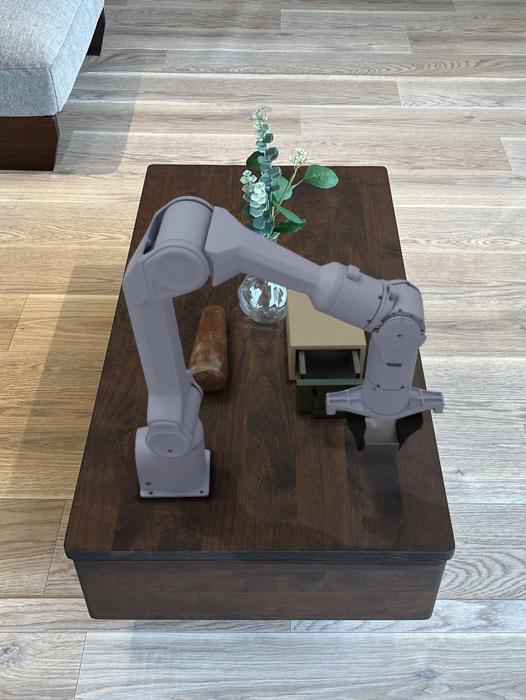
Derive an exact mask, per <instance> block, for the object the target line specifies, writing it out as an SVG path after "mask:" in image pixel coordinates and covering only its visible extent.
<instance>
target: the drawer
mask: <svg viewBox="0 0 526 700" xmlns="http://www.w3.org/2000/svg"><path fill="white" fill-rule="evenodd" d="M296 355H297V369H298V380H295V407H294V409H295V412H312V419H313V420H346V415H345V411H336V413H335V414H334V415H327V411H326V395H327V393H335V392H340V391H344V390H347V389H351V388H354V387H358V386H361V385H364V380H365V378H362V379H360V374H361V372H360V365H359V359H358V352H357V349H296Z"/></svg>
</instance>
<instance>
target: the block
mask: <svg viewBox="0 0 526 700" xmlns="http://www.w3.org/2000/svg"><path fill="white" fill-rule="evenodd" d="M365 420H366V427H367V429H366V431H365V434H364V438H363V449H362V451H359V453H360V460H361V466H385V465H387V466H388V465H389V466H390V465H396V461H397V456H398V452H399V451H398V446H399V440H398V435H397V429H396V419H395V420H380V419H376V418H372V417H365Z"/></svg>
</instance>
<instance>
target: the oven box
mask: <svg viewBox="0 0 526 700" xmlns="http://www.w3.org/2000/svg"><path fill="white" fill-rule="evenodd" d="M285 312H286V314H285V328H286V329H285V330H286V344H287V360H288V361H287V363H288V379H289V381H296V380H298V369H297V355H296V349H357V352H358V359H359V365H360V372H361V374H360V379H363V374H364V367H365V366H364V365H365V360H366V351H367V340H366V334H365V330H363V329H360V328H358V327H355V326H353V325H351V324H348V323H346V322H343V321H341V320H339V319H336V318H334V317H331V316H329V315H327V314H324V313H322V312H320V311H317V310H315V309H314V307H313V305H312V302H311V300H310V298H309V297H308V295H306V294H303V293H300V292H297V291H294V290H291V289H288V288H286V311H285Z"/></svg>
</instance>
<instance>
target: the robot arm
mask: <svg viewBox="0 0 526 700" xmlns="http://www.w3.org/2000/svg"><path fill="white" fill-rule="evenodd" d="M239 274H245V275H247V276H250V277H253V278H255V279H259V280H261V281H262V280H263V281H264V282H268V283H270V284H274V285H276V286H279V287H282V288H285V289H291V290H294V291H297V292H300V293H303V294H306V295H308V297H309V298H310V300H311V302H312V305H313V307H314V309H315V310H317V311H320V312H322V313H324V314H327V315H329V316H331V317H334V318H336V319H339V320H341V321H343V322H346V323H348V324H351V325H353V326H355V327H358V328H360V329H363V330H364V332H367V333H370V334H371V338H370V340H369V344H368V351H367V358H366V367H365V374H364V379H365V380H364V385H361V386H358V387H354V388H351V389H347V390H344V391H340V392H335V393H327V395H326V411H327V415H334V414H335V413H336V411H345V415H346V419H345V423H346V426H347V429H348V430H349V431H350V432H351V434H352V436H353V438H354V440H355V449H356V451H357V452H360V451H362V449H363V438H364V434H365V431H366V429H367V427H366V420H365V418H376V419H380V420H395V423H396V429H397V435H398V440H399V446H398V452H399V451H400V450H401V449H402V448H403V446H404V445H405V443H406V441H407V440H408V439H409V438H410V437H411V435H413V434H414V433H415V432H417V431H419V430H421V429H422V428H423V425H424V416H423V412H424V411H429V410H431V411H432V412H433V413H434V414H443V412H444V407H445V404H446V403H445V399H444V395H443V391H435V390H434V391H433V390H428V389H423V388H419V387H415V386H412V385H413V380H414V376H415V370H416V365H417V360H418V354H419V348H421V347H422V346H423V345H424V343H425V342H426V340H427V337H428V336H427V335H426V319H425V309H424V299H423V295H422V293H421V290H420V288H418V287H417V286H416V285H414V284H413V283H411V282H410V281H409V280H407V279H391V280H385V279H382V278H381V279H376V278H375V277H372V276H370V275H367V274H366V273H363V272H361V271H360V268H359V267H358V266H355V265H352V264H349V265H348V266H347V265H345V264H342V263H340V262H338V261H331V262H329V263H325V264H324V265H319V264H317V263H315V262H313V261H311V260H309V259H307V258H305V257H303V256H301V255H300V254H297V253H296V252H294V251H292V250H290V249H288V248H286V247H284V246H282V245H281V244H279V243H276V242H274V241H272V240H270V239H269V238H267V237H264V236H263V235H261V234H258V233H257V232H255V231H253V230H251V229H249V228H248V227H246V226H245V225H243V224H242V223H241V222H240V221H239V220H238V219H237V218H236V217H235V216H234V215H233V214H232V213H231V212H230V211H229V210H227V209H226V208H224V207H220V206H218V205H217V206H216V205H214V206H213V205H212V204H211V203H209V202H208V201H207V200H205V199H203V198H200V197H198V196H192V195H182V196H179V197H176V198H174V199H172V200H171V201H169V202H167V204H165V205H164V206H162V207H160V208H159V210H157V211H156V212H155V213H154V215H153V217H152V220H151V222H150V224H149V226H148V228H147V230H146V232H145V234H144V235H143V237H142V239H141V241H140V242H139V245H138V246H137V248H136V250H135V251H134V253H133V255H132V256H131V258H130V260H129V262H128V264H127V266H126V270H125V273H124V276H123V278H122V281H121V284H122V291H123V296H124V299H125V303H126V307H127V311H128V316H129V319H130V323H131V328H132V332H133V335H134V341H135V343H136V349H137V351H138V355H139V359H140V363H141V367H142V371H143V376H144V380H145V382H146V388H147V391H148V398H147V414H146V423H147V426H143V427H137V429H136V434H135V442H134V443H135V444H134V445H135V446H134V454H135V455H134V456H135V457H134V458H135V459H134V460H135V466H136V467H135V468H136V473H137V477H138V478H137V479H138V483H139V488H140V490H139V491H140V494H139V495H140V497H141V498H186V497H187V498H188V497H189V498H190V497H191V498H192V497H196V498H197V497H207V496H209V494H210V471H211V470H210V469H211V451H210V450H209V449H206V445H205V435H204V433H205V432H204V426H203V423H202V421H201V419H200V417H199V414H200V408H201V404H202V402H203V398H204V393H203V392H204V391H202V389H201V388H200V386H199V385H198V384H197V383H196V382H195V381H194V379H193V376H192V371H190V370H188V369H187V367H186V362H185V357H184V353H183V347H182V341H181V338H180V332H179V327H178V321H177V317H176V312H175V307H174V301H173V299H174V298H176V297H180V296H183V295H186V294H189V293H192V292H194V291H196V290H199V289H200V288H202V287H203V286H204V285H205V284H206V282H207V281H208V279H209V277H212V282H211V286H212V287H217V286H220V285H221V284H223V283H224V282H227V281H228V280H231V278H233V277H236V276H237V275H239Z"/></svg>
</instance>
